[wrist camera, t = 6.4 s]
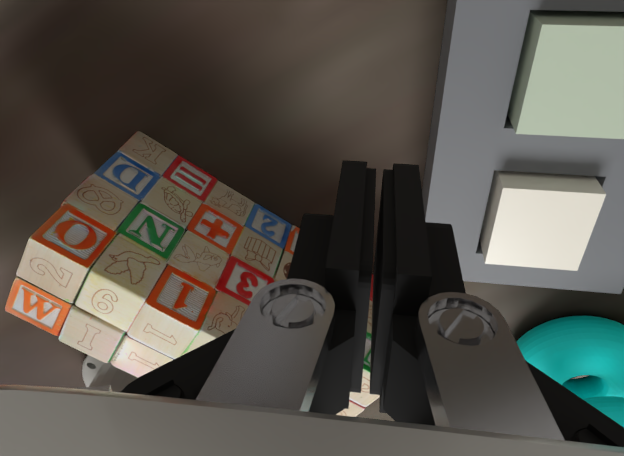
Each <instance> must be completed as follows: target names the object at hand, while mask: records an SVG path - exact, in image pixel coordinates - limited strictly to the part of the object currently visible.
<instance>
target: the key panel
mask: <svg viewBox="0 0 624 456" xmlns="http://www.w3.org/2000/svg"><path fill="white" fill-rule="evenodd" d="M530 10H560V11H608V12H624V0H448V1H447V9H446V16H445V24H444V31H443V39H442V46H441V53H440V61H439V68H438V76H437V83H436V91H435V98H434V106H433V113H432V121H431V128H430V136H429V143H428V151H427V158H426V165H425V173H424V180H423V188H422V197H423V205H424V214H425V222H430V223H444V224H451V225H452V228H453V233H454V238H455V243H456V248H457V253H458V258H459V263H460V268H461V273H462V278H463V281H470V282H482V283H494V284H506V285H518V286H530V287H542V288H554V289H566V290H578V291H590V292H602V293H614V294H621V292H622V290H623V288H624V139H610V138H589V137H569V136H549V135H528V134H516V133H515V131H514V128H513V126H512V124H511V121H510V119H509V117H508V114H507V111H508V107H509V102H510V98H511V93H512V89H513V84H514V80H515V75H516V71H517V67H518V62H519V58H520V53H521V49H522V44H523V40H524V35H525V31H526V26H527V22H528V17H529V13H530ZM494 170H498V171H516V172H533V173H550V174H568V175H585V176H595V177H596V179H597V180H598V182H599V184H600V185H601V187H602V188H603V190H604V191H605V193H606V196H605V199H604V202H603V204H602V207H601V210H600V212H599V215H598V218H597V220H596V223H595V225H594V228H593V231H592V233H591V236H590V239H589V241H588V244H587V247H586V249H585V252H584V255H583V257H582V260H581V262H580V265H579V268H578V270H577V271H571V270H559V269H546V268H533V267H521V266H508V265H496V264H485V262H484V257H483V253H482V248H481V243H480V239H479V237H480V232H481V228H482V223H483V219H484V214H485V210H486V205H487V201H488V196H489V192H490V188H491V183H492V179H493V174H494Z"/></svg>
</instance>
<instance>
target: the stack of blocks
mask: <svg viewBox="0 0 624 456" xmlns="http://www.w3.org/2000/svg"><path fill="white" fill-rule="evenodd" d="M299 230H300V228H298V227H297V226H295V225H291V224H290V223H288V222H287V221H285V220H283V219H282V218H280V217H278V216H277V215H275V214H273V213H272V212H270V211H268V210H267V209H265V208H263V207H262V206H260V205H259V204H256V203H254V202H253V201H251V200H250V199H248V198H246V197H245V196H243V195H241V194H240V193H238V192H237V191H235V190H233V189H231V188H230V187H228V186H227V185H225V184H223V183H222V182H220V181H218V180H217V179H216V178H215V177H213V176H212V175H210V174H209V173H207V172H205V171H204V170H202V169H200V168H199V167H197V166H195V165H194V164H192V163H191V162H189V161H187V160H186V159H184V158H182V157H181V156H179V155H177V154H176V153H175V152H173V151H171V150H170V149H168V148H166V147H165V146H163V145H162V144H160V143H158V142H157V141H155V140H153V139H152V138H150V137H148V136H147V135H145V134H144V133H142V132H140V131H137V132H136V133H135V134H134V135H133V136H132V137H131V138H130V139H129V140H128V141H127V142H125V144H124V145H123V146H121V147H120V149H119V150H118V151H117V152H116V153H115V154H114V155H113V156H112V157H111V158H109V159H108V160H107V161H106V162H105V163H104V164H103V165H102V166H101V167H100V168H99V169H98V170H96V171H95V172H94V174H93V175H90V176H89V177H88V178H87V179H86V180H84V181H83V182H82V183H81V184H80V185H79V186H78V187H77V188H76V189H75V190H74V191H73V192H72V193H70V194H69V196H68V197H67V198H66V199H64V201H63V202H62V204H61V207H60V208H59V209H58V210H57V211H56V212H55V213H54V214H53V215H52V216H51V217H50V218H49V219H48V220H47V221H46V222H45V223H44V224H43V225H42V226H41V227H39V228H38V229H37V230H36V231H35V232H34V233H33V234H32V235H31V236H30V238H29V239H28V242H27V245H26V248H25V251H24V254H23V256H22V259H21V262H20V264H19V267H18V270H17V272H16V275H17V277H16V278H15V280H14V282H13V285H12V288H11V291H10V294H9V297H8V300H7V303H6V306H5V310H6V311H7V312H9V313H11V314H13V315H15V316H17V317H19V318H21V319H23V320H25V321H27V322H29V323H31V324H33V325H35V326H37V327H39V328H41V329H43V330H45V331H47V332H49V333H51V334H53V335H56V336H59V340H60V341H61V342H63V343H65V344H67V345H69V346H71V347H73V348H75V349H77V350H79V351H81V352H83V353H85V354H87V355H89V356H92V357H94V358H96V359H98V360H100V361H102V362H104V363H109V362H111V364H112V365H113V366H114V367H116V368H118V369H121V370H123V371H125V372H127V373H129V374H131V375H133V376H135V377H137V378H139V377H140V376H142V375H144V374H146V373H148V372H150V371H152V370H154V369H156V368H158V367H160V366H162V365H164V364H166V363H168V362H170V361H172V360H174V359H176V358H178V357H180V356H182V355H184V354H186V353H188V352H190V351H192V350H194V349H196V348H198V347H200V346H202V345H204V344H206V343H208V342H210V341H212V340H214V339H216V338H218V337H220V336H222V335H224V334H226V333H228V332H230V331H232V330H234V329H236V327H237V326H238V324H239V322H240V320H241V318H242V317H243V315H244V313H245V311H246V310H247V308H248V306H249V304H250V303H251V301H252V299H253V297H254V296H255V295H256V294H257V292H258V291H259V290H260V289H262V288H263V287H265V286H266V285H268V284H270V283H273V282H276V281H279V280H284V279H287V277H288V273H289V269H290V265H291V261H292V257H293V253H294V249H295V246H296V242H297V238H298V234H299ZM372 301H373V274H372V280H371V291H370V302H369V312H368V323H367V333H366V344H365V355H364V365H363V376H362V386H361V393H356V392H350V397H349V409H344V410H342V411H341V412H339V413H338V414H336V415H341V416H351V417H355V416H357V415H358V414H359V413H361V412H362V411H363V410H365V407H366V406H368V405H370V404H371V403H372V402H374V401H375V400H376V399H377V398H379V397H380V395H375V394H370V361H371V331H372Z"/></svg>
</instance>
